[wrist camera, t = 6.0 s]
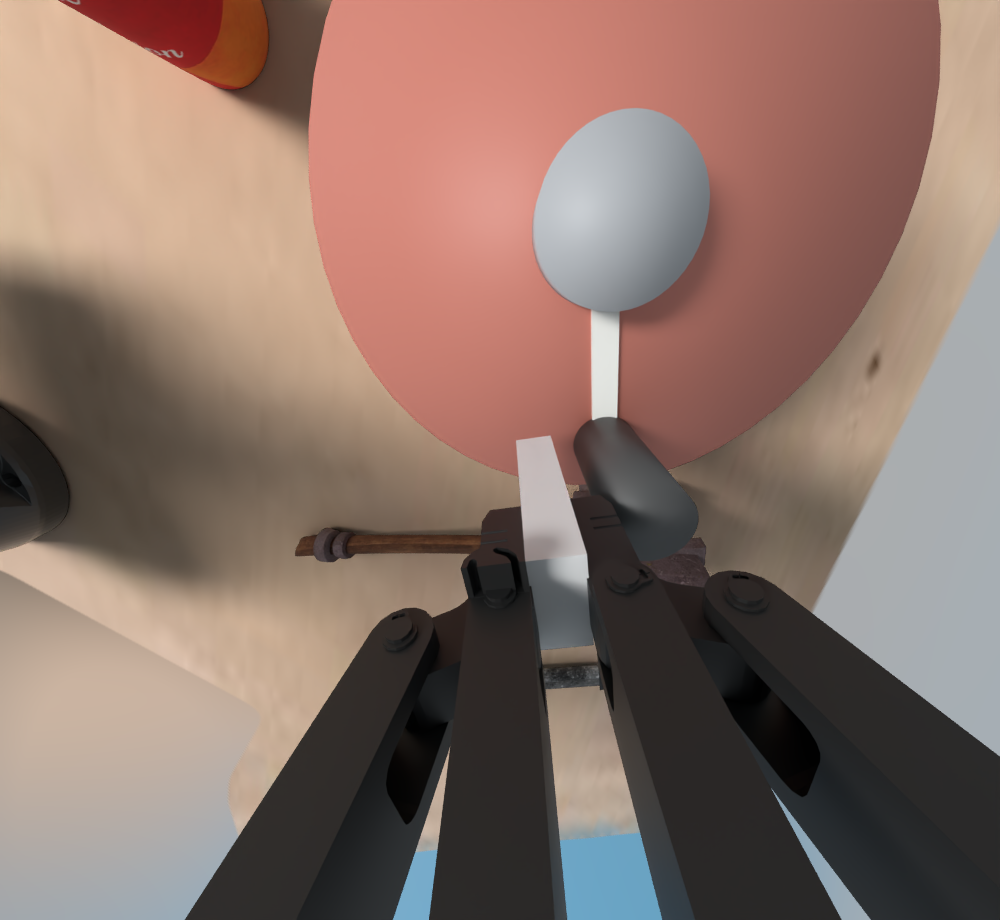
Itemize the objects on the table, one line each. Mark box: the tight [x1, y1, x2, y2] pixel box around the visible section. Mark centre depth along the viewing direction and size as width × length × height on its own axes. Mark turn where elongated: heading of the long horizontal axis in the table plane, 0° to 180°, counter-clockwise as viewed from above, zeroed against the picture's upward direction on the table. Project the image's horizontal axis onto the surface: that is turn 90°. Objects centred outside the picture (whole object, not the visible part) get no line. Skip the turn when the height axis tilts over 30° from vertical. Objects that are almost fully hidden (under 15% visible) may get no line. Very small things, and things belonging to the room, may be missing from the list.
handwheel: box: [309, 0, 941, 561], centre depth 12 cm, size 20×20×10 cm
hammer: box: [295, 484, 710, 587], centre depth 31 cm, size 7×33×10 cm, turn 98°
